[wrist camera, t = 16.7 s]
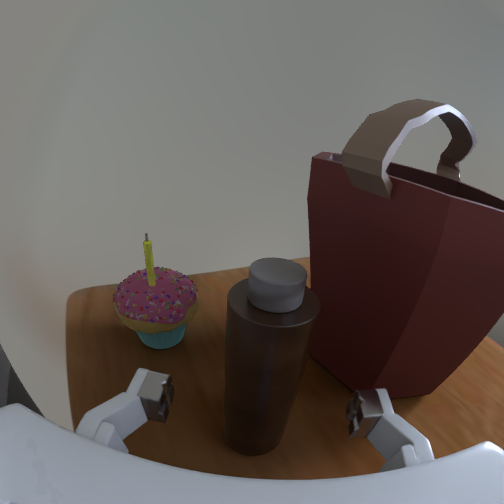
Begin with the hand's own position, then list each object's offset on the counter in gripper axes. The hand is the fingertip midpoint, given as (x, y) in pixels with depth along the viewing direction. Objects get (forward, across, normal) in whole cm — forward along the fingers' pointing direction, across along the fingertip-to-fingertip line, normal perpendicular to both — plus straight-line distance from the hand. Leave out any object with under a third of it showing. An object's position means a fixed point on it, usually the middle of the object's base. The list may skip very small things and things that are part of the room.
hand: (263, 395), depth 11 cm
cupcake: (+14, +10, +10) cm, 20 cm away
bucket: (+14, -14, +10) cm, 22 cm away
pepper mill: (+4, 0, +10) cm, 10 cm away
